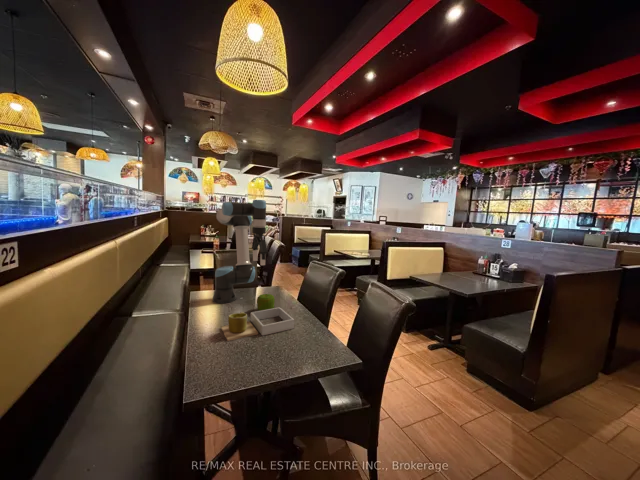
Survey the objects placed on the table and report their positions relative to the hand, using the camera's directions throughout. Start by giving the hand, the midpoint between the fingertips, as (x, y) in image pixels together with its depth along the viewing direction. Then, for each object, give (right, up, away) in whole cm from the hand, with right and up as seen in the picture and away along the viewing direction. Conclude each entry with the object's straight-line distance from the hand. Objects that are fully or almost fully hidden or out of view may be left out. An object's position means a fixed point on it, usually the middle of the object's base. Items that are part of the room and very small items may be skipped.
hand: (258, 262), depth 150 cm
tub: (+9, -34, -7) cm, 36 cm away
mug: (-7, -33, -16) cm, 38 cm away
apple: (+1, -32, +13) cm, 34 cm away
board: (-6, -35, -16) cm, 39 cm away
